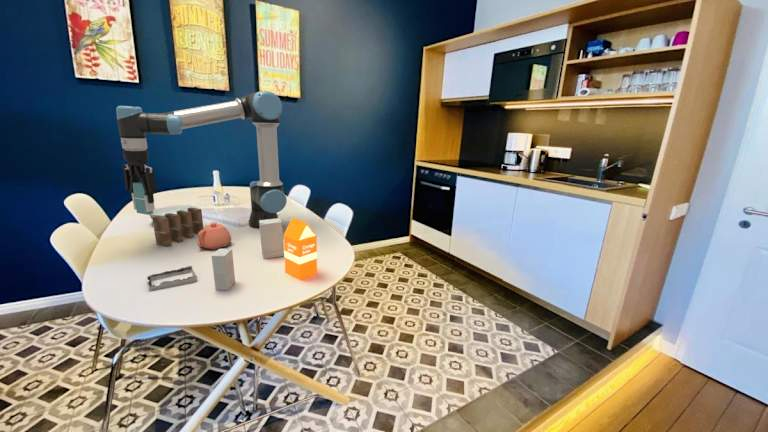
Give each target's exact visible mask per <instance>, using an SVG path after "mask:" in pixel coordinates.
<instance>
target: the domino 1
mask: <svg viewBox="0 0 768 432" xmlns="http://www.w3.org/2000/svg"><path fill="white" fill-rule="evenodd" d="M133 192H134V198H135V204H136V210H135V211H136V213H137V214H143V215H148V216H150V215H149V214H153V211H149V212H147V210H146V204H145V197H144V194H146V193H145V191H144V188H143V185H142V183H141V181H139V182H134V183H133ZM148 192H149V191H148Z"/></svg>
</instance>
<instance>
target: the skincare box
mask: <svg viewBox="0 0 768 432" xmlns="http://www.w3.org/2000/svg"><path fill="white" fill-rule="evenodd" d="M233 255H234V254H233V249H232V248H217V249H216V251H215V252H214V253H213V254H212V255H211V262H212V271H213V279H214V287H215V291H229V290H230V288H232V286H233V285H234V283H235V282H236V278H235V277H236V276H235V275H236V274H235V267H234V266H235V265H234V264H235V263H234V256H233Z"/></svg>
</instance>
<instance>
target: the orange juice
mask: <svg viewBox="0 0 768 432" xmlns="http://www.w3.org/2000/svg"><path fill="white" fill-rule="evenodd" d="M317 241H318V239H317V235H316V234H315V232H314V231H313V229H312V228H311V226H310V225H309V223H308V222H306V221H302V220H300V219H298V218H295V217H292V218H291V219H290V222H289V224H288V226H287V227H286V229H285V231H284V233H283V247H284V256H283V257H284V272H285V273H286V274H288V275H289V276H291V277H293V278H295V279H297V280H298V281H302V280H304V279H307V278H310V277H311V276H314V275H317V274H318V251H317V249H318V245H317V243H318V242H317Z"/></svg>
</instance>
